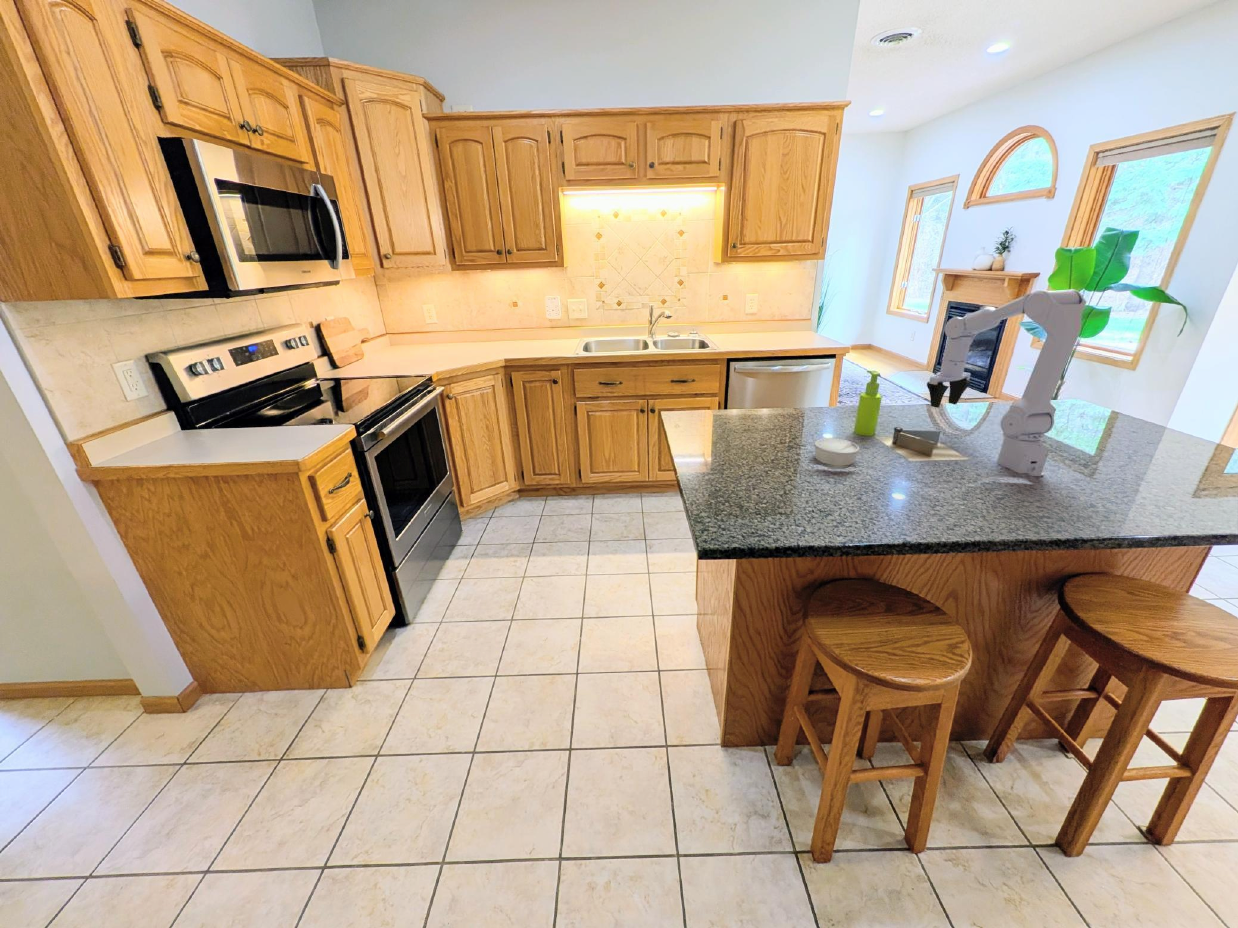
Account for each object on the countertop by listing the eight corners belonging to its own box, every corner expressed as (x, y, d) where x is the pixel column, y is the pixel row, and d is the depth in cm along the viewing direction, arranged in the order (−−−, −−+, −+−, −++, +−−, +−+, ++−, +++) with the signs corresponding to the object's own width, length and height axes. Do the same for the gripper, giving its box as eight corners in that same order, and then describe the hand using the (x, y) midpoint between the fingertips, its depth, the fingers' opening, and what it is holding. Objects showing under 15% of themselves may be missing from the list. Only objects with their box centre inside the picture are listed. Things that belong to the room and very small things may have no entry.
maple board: (968, 463, 133) (969, 459, 133) (909, 464, 133) (910, 460, 133) (926, 439, 151) (927, 435, 150) (874, 440, 151) (874, 437, 150)
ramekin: (860, 472, 130) (864, 453, 128) (815, 469, 132) (818, 451, 130) (851, 456, 140) (854, 438, 138) (809, 454, 142) (811, 437, 140)
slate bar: (899, 442, 145) (902, 429, 143) (898, 441, 146) (901, 429, 144) (937, 444, 143) (940, 431, 141) (936, 443, 143) (939, 430, 142)
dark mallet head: (888, 443, 145) (892, 428, 143) (894, 441, 146) (897, 426, 144) (929, 456, 135) (933, 440, 133) (935, 455, 136) (939, 439, 134)
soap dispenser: (868, 431, 158) (880, 369, 150) (877, 439, 152) (889, 374, 144) (849, 431, 159) (860, 369, 151) (857, 439, 152) (868, 374, 145)
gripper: (958, 355, 150) (948, 399, 156) (924, 360, 146) (914, 404, 151) (981, 359, 144) (970, 404, 150) (946, 364, 139) (935, 410, 145)
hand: (943, 405), depth 150 cm, fingers open, 7 cm apart
